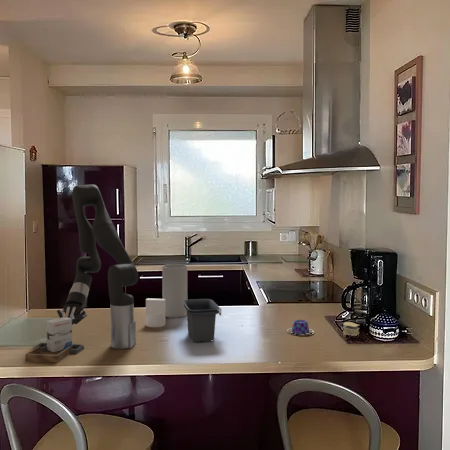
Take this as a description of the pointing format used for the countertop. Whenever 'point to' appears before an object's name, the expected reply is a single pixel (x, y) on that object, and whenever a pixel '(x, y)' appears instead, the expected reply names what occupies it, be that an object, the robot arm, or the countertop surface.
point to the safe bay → (45, 356)
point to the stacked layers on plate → (350, 329)
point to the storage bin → (201, 318)
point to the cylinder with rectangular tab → (155, 312)
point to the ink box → (59, 334)
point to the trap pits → (73, 348)
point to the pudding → (300, 327)
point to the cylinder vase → (174, 289)
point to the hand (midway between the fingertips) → (65, 332)
